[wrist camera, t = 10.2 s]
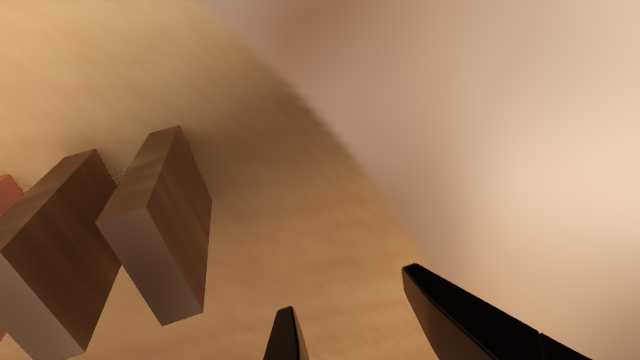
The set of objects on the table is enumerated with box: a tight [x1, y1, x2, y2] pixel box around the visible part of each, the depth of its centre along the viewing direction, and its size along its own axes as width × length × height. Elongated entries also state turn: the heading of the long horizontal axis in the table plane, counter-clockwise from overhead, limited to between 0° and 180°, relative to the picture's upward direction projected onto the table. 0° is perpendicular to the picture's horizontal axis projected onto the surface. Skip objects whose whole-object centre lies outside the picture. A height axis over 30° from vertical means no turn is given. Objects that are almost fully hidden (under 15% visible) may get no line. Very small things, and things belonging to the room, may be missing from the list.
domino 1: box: [0, 149, 121, 360], centre depth 16 cm, size 2×5×9 cm, turn 13°
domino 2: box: [95, 125, 212, 326], centre depth 16 cm, size 2×5×9 cm, turn 13°
